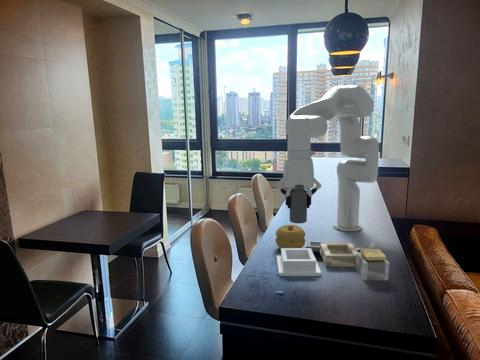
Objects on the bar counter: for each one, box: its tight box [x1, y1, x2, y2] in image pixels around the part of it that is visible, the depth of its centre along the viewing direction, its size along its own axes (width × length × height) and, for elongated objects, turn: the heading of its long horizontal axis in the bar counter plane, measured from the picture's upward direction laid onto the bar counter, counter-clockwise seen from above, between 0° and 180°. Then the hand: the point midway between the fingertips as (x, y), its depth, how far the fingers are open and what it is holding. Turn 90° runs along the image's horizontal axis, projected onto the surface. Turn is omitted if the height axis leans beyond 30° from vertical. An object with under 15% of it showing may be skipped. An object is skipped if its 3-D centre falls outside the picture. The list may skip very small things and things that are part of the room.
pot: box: [275, 224, 306, 250], centre depth 139 cm, size 12×12×10 cm
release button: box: [360, 248, 387, 262], centre depth 117 cm, size 6×6×6 cm
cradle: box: [276, 247, 322, 277], centre depth 124 cm, size 14×14×5 cm
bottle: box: [289, 180, 308, 224], centre depth 120 cm, size 6×6×15 cm
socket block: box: [319, 242, 390, 281], centre depth 124 cm, size 22×18×6 cm
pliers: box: [347, 240, 374, 253], centre depth 139 cm, size 10×2×15 cm
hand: (298, 206), depth 120 cm, fingers closed on bottle, 5 cm apart
